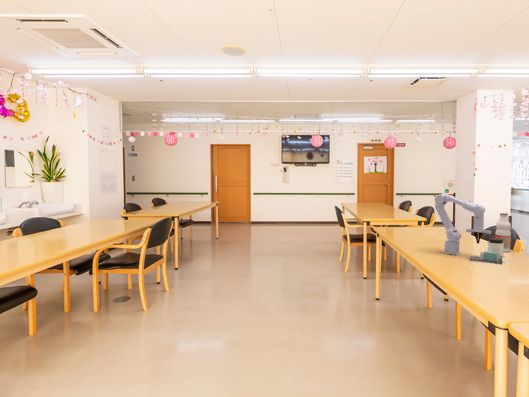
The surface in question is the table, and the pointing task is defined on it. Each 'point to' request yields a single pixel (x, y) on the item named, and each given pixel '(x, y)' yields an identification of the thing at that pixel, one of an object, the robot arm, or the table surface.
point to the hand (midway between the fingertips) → (477, 243)
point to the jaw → (482, 255)
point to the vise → (499, 260)
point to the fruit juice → (504, 231)
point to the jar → (496, 245)
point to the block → (490, 255)
